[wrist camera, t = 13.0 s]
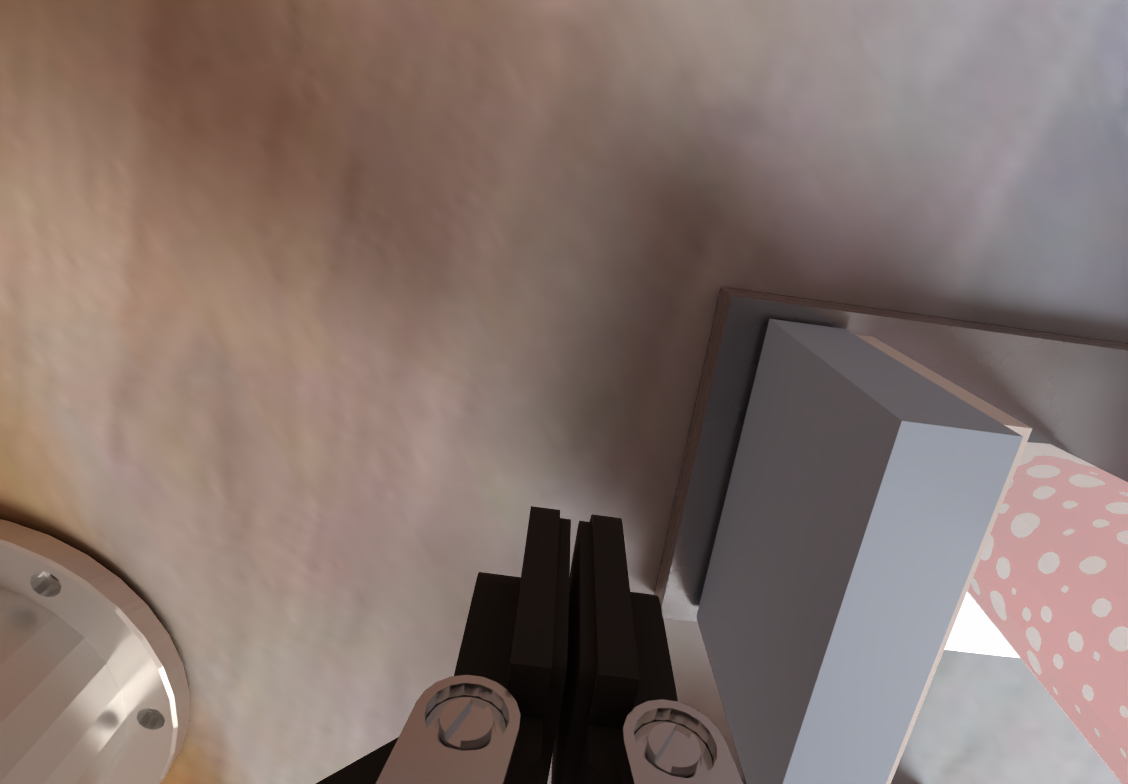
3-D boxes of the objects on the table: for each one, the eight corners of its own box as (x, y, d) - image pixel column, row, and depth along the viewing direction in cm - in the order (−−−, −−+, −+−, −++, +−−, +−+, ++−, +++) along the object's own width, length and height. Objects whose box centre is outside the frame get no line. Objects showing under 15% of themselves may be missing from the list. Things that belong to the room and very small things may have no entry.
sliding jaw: (696, 616, 20) (763, 841, 14) (769, 318, 17) (901, 420, 11) (777, 625, 20) (883, 852, 14) (864, 331, 17) (1053, 440, 11)
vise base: (654, 593, 22) (716, 876, 13) (721, 287, 18) (860, 400, 10) (1180, 653, 23) (1553, 951, 14) (1332, 372, 19) (1937, 541, 11)
